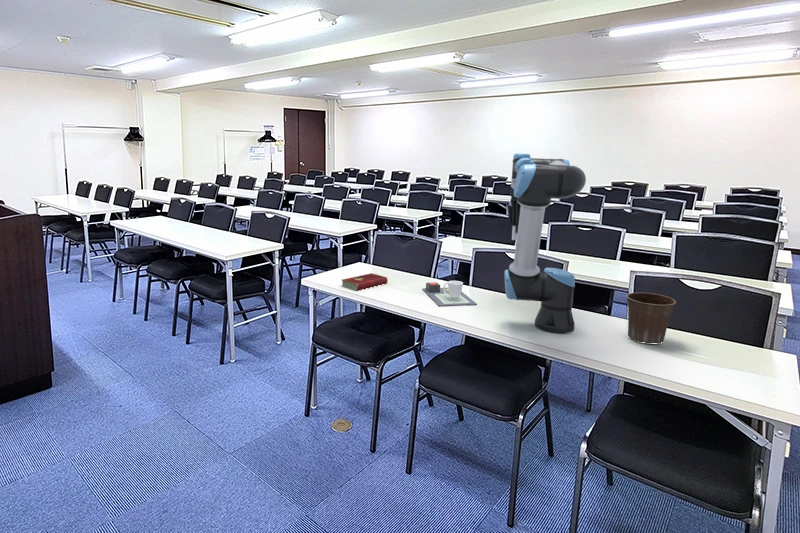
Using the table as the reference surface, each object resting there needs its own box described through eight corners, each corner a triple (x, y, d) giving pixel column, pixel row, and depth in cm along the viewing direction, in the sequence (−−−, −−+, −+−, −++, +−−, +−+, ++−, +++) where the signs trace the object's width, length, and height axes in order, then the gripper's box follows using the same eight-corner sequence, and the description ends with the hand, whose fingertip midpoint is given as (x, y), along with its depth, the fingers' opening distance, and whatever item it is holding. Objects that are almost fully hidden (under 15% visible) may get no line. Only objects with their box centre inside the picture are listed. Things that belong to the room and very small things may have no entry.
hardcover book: (387, 284, 248) (387, 276, 247) (357, 292, 233) (357, 283, 232) (371, 280, 256) (371, 272, 255) (341, 287, 241) (341, 279, 240)
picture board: (476, 305, 216) (477, 303, 216) (438, 306, 212) (438, 304, 212) (456, 288, 243) (456, 286, 243) (422, 289, 239) (422, 288, 239)
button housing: (439, 292, 233) (440, 285, 232) (428, 292, 232) (429, 285, 231) (436, 289, 238) (436, 282, 237) (425, 289, 237) (426, 282, 236)
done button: (437, 290, 233) (437, 284, 233) (430, 290, 233) (430, 284, 232) (435, 288, 237) (435, 282, 236) (428, 288, 236) (428, 282, 235)
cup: (456, 302, 217) (457, 285, 215) (438, 297, 223) (439, 281, 221) (465, 299, 222) (466, 282, 220) (447, 294, 228) (448, 278, 226)
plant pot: (625, 344, 175) (631, 301, 171) (617, 329, 190) (623, 290, 186) (674, 349, 171) (681, 306, 167) (663, 334, 186) (669, 294, 182)
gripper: (503, 187, 220) (499, 237, 225) (523, 189, 209) (518, 242, 214) (515, 187, 224) (511, 237, 229) (535, 189, 213) (531, 241, 218)
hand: (514, 239), depth 222 cm, fingers closed
